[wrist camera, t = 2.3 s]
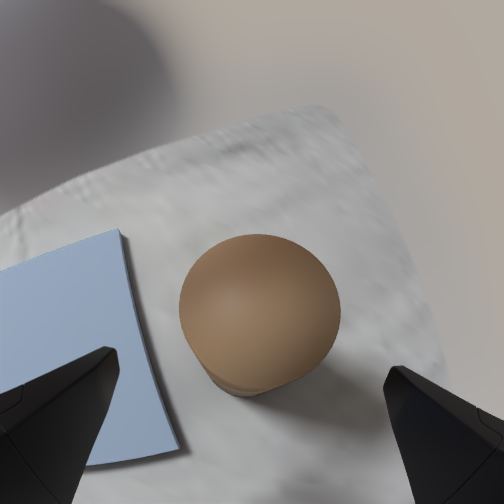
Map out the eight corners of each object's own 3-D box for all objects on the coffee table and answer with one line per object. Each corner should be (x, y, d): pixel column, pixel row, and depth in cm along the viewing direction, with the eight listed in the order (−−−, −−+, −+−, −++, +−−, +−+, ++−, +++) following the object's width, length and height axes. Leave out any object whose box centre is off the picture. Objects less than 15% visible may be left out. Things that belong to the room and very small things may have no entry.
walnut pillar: (300, 373, 18) (368, 336, 9) (225, 409, 16) (222, 415, 7) (262, 305, 20) (291, 215, 11) (190, 336, 18) (157, 266, 10)
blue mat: (180, 447, 15) (178, 448, 14) (0, 466, 11) (-6, 467, 10) (121, 233, 22) (118, 228, 21) (-23, 286, 18) (-28, 283, 17)
